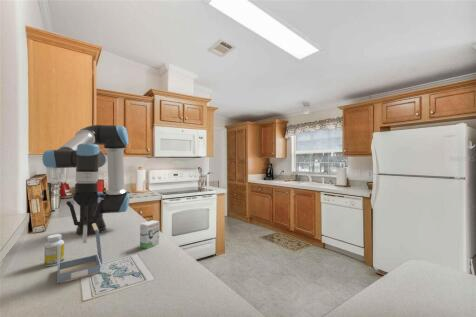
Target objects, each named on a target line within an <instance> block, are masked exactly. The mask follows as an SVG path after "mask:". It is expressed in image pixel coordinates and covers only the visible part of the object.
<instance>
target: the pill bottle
mask: <svg viewBox="0 0 476 317" xmlns="http://www.w3.org/2000/svg"><path fill="white" fill-rule="evenodd" d="M46 238H47V242H46V243H45V244H44V266H46V267H53V266H58V263H60V262H65V241H64V240H63V239H62V233H61V234H60V233H55V234H51V235H48V236H47V237H46Z"/></svg>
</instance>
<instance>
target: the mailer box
mask: <svg viewBox="0 0 476 317" xmlns="http://www.w3.org/2000/svg"><path fill="white" fill-rule="evenodd" d="M100 273H101V262H100V259H99V256H98V254H93V255H89V256H85V257H80V258H75V259H70V260H64V261H63V262H60V263H58V264H57V273H56V275H57V277H56V279H57V280H56V282H57V283H56V284H57V285H58V284H63V283H66V282H70V281H73V280H78V279H81V278H85V277H89V276H93V275H96V274H100Z"/></svg>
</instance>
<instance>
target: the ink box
mask: <svg viewBox="0 0 476 317" xmlns="http://www.w3.org/2000/svg"><path fill="white" fill-rule="evenodd" d="M158 244H160V221H159V220H152V219H151V220H148V221H146V222H141V223H140V226H139V248H142V249H149V248H151V247H153V246H156V245H158Z"/></svg>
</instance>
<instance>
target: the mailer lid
mask: <svg viewBox="0 0 476 317" xmlns="http://www.w3.org/2000/svg"><path fill="white" fill-rule="evenodd" d="M92 226H93V229H94V231H95V232H96V234H95V240H96V248H97V256H98V260H99V263H100V265H102V264H103V255H102V247H101V245H102V244H101V237H100V233H99V230H98V227H97V225H96V223H94V224H92Z"/></svg>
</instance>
